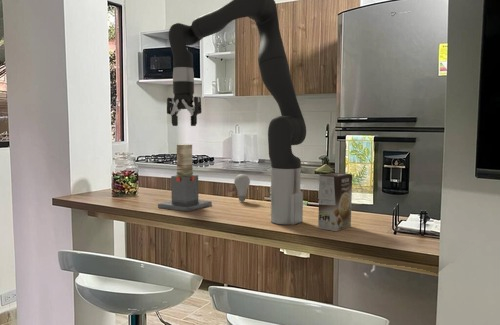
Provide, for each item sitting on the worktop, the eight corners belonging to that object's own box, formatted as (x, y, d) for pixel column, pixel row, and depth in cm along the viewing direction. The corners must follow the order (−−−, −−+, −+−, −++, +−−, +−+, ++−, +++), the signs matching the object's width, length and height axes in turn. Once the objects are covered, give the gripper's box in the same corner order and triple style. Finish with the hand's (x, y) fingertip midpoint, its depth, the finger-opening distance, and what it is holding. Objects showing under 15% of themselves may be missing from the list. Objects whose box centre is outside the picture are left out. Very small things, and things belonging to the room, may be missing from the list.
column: (193, 186, 167) (192, 144, 166) (185, 187, 164) (185, 145, 162) (184, 185, 169) (183, 144, 168) (176, 186, 166) (176, 144, 164)
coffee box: (336, 232, 130) (337, 176, 128) (317, 228, 134) (318, 174, 132) (351, 226, 137) (352, 173, 135) (332, 223, 141) (333, 172, 139)
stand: (211, 205, 170) (211, 174, 168) (188, 211, 158) (187, 179, 157) (182, 201, 177) (182, 172, 176) (158, 207, 165) (157, 176, 164)
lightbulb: (241, 203, 172) (241, 175, 171) (231, 201, 177) (231, 173, 176) (253, 201, 176) (253, 174, 175) (243, 199, 181) (243, 172, 180)
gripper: (205, 80, 162) (205, 126, 164) (175, 82, 170) (175, 125, 171) (192, 79, 156) (193, 126, 158) (161, 81, 163) (162, 125, 165)
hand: (184, 125), depth 164 cm, fingers open, 8 cm apart
